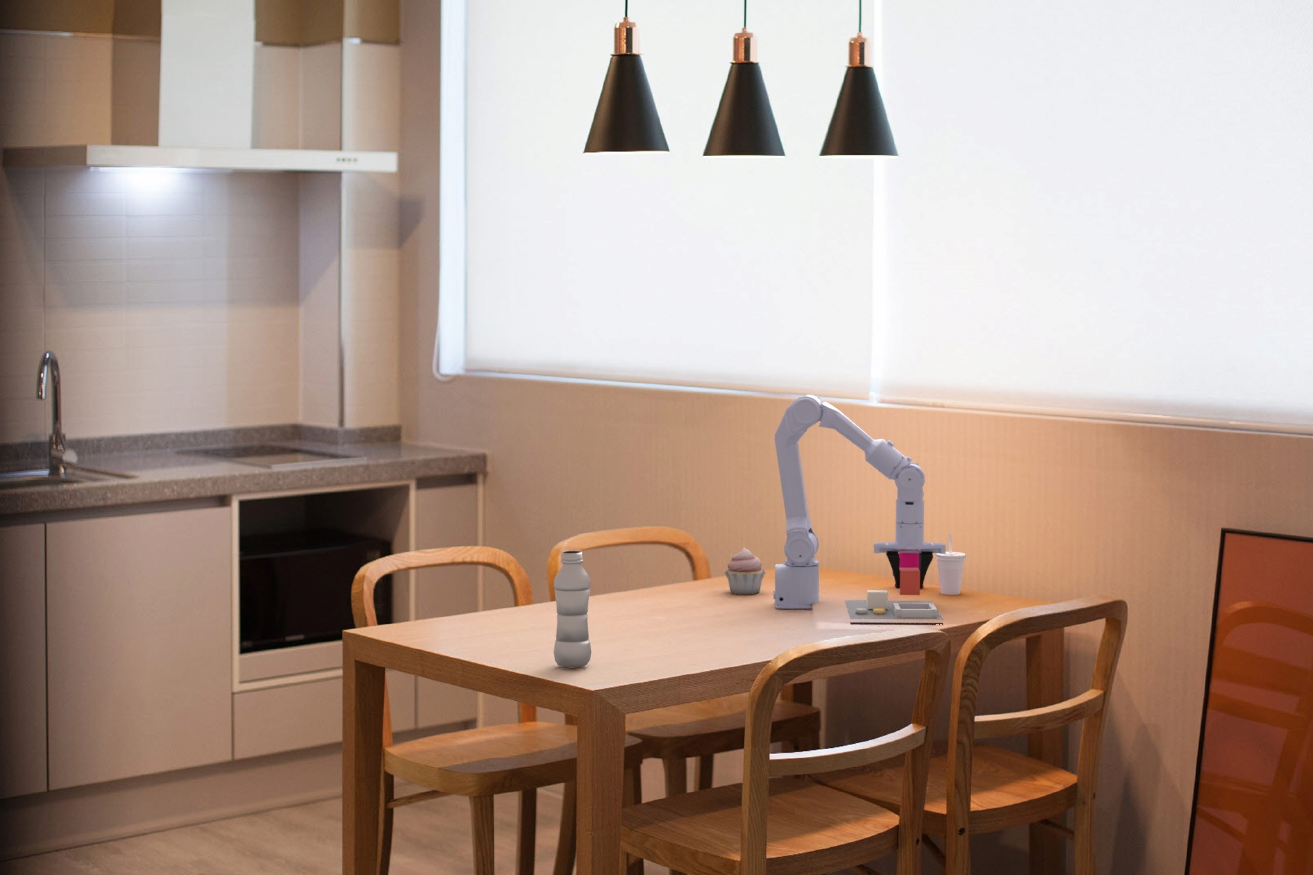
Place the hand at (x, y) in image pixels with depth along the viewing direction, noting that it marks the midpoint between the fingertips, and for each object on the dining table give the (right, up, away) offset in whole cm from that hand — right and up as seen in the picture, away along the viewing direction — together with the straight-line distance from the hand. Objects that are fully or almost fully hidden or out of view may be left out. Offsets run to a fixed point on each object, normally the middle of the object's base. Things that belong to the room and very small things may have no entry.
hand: (909, 587), depth 317 cm
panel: (-4, -5, -6) cm, 9 cm away
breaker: (-7, -4, -5) cm, 10 cm away
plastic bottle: (-66, -9, -51) cm, 84 cm away
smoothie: (+11, -4, +13) cm, 17 cm away
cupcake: (-33, -3, +21) cm, 39 cm away
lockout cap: (0, -1, 0) cm, 1 cm away
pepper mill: (+3, -3, +21) cm, 22 cm away
